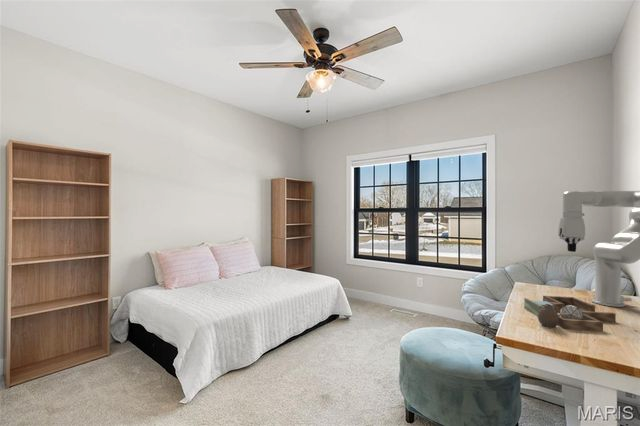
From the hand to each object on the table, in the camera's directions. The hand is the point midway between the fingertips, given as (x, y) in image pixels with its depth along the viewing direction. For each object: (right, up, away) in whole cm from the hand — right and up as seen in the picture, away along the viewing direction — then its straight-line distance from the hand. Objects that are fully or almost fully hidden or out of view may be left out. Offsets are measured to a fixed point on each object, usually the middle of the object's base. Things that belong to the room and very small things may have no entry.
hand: (571, 251), depth 152 cm
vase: (-35, -27, -30) cm, 54 cm away
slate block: (-26, -27, -14) cm, 40 cm away
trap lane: (-15, -27, -16) cm, 35 cm away
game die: (-23, -27, -27) cm, 45 cm away
